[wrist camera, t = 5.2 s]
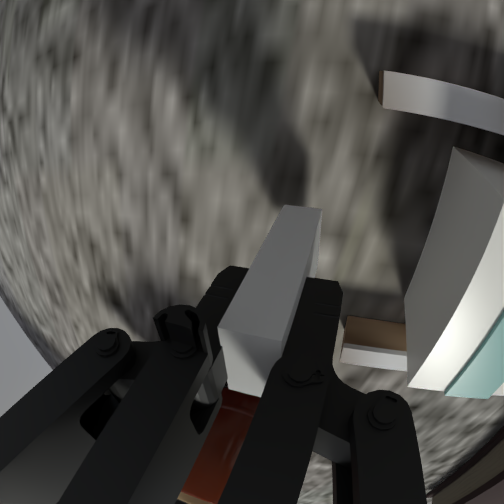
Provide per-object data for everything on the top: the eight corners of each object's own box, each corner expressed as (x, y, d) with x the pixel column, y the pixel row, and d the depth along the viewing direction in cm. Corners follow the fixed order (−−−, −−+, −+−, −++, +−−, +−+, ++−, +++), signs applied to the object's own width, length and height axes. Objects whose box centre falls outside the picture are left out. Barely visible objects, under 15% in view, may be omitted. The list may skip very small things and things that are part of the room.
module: (403, 297, 15) (406, 391, 10) (452, 144, 10) (507, 202, 6) (493, 315, 13) (515, 400, 9) (553, 184, 9) (619, 252, 4)
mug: (312, 403, 22) (276, 523, 14) (274, 434, 28) (241, 523, 20) (172, 342, 23) (104, 450, 15) (165, 386, 29) (117, 468, 21)
